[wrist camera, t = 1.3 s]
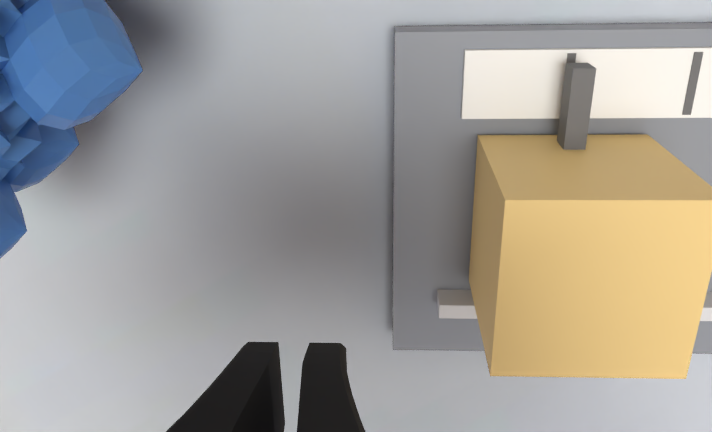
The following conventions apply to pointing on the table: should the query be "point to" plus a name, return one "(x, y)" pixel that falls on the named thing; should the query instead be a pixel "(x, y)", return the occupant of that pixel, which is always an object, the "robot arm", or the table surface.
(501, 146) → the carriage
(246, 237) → the table surface
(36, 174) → the grapes
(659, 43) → the gauge track
